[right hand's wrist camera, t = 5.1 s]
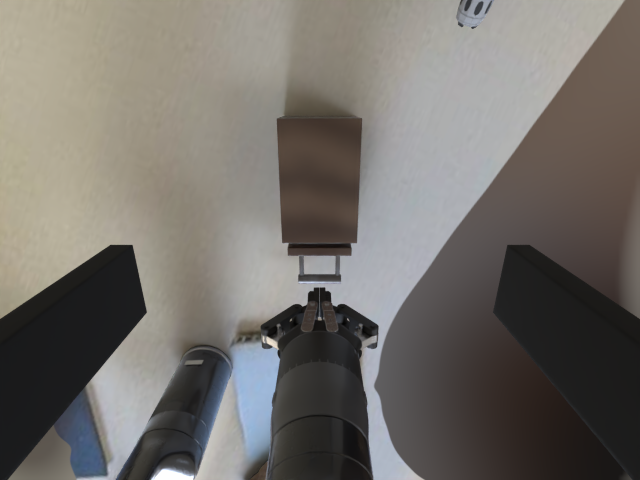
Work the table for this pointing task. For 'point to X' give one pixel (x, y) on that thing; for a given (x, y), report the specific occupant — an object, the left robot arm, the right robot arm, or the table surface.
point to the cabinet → (319, 178)
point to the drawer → (319, 250)
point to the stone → (261, 473)
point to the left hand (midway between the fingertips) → (319, 293)
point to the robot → (472, 12)
